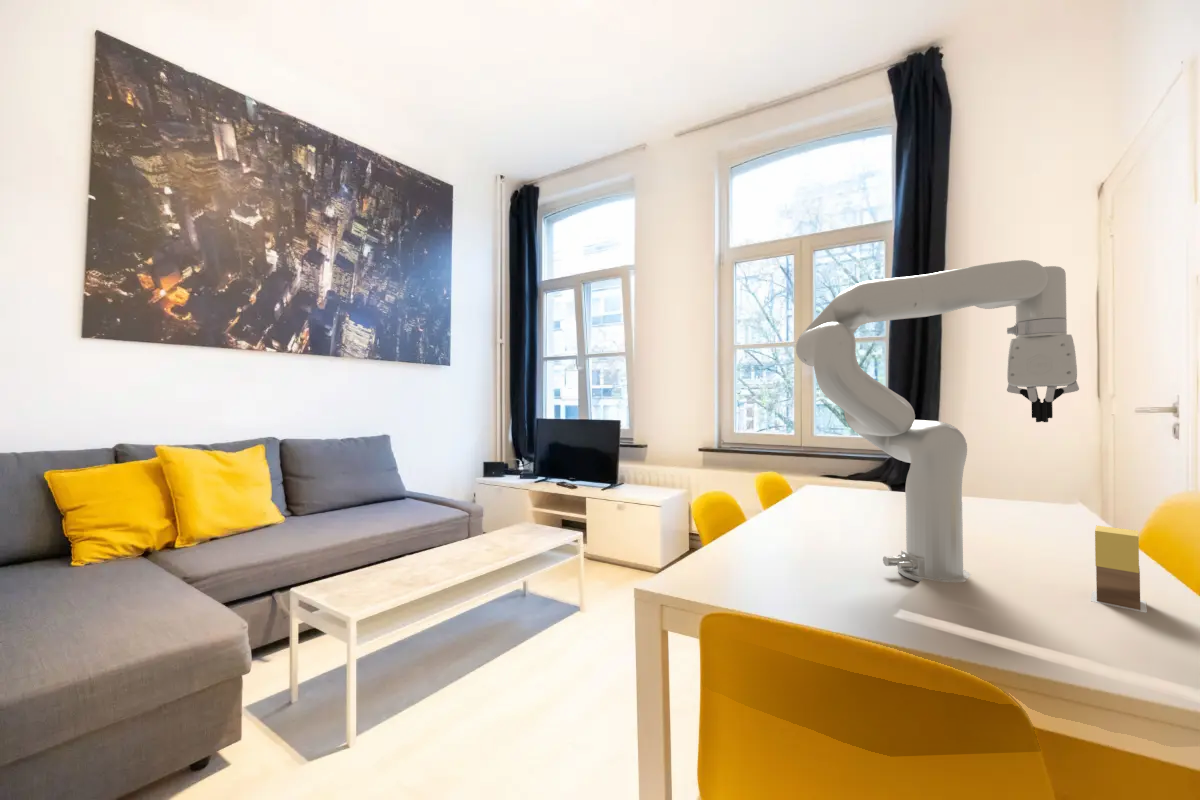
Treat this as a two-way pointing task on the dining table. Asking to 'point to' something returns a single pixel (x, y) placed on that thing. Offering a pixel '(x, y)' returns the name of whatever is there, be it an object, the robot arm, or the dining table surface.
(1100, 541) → the mustard block
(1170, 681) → the dining table surface
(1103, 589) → the walnut block
